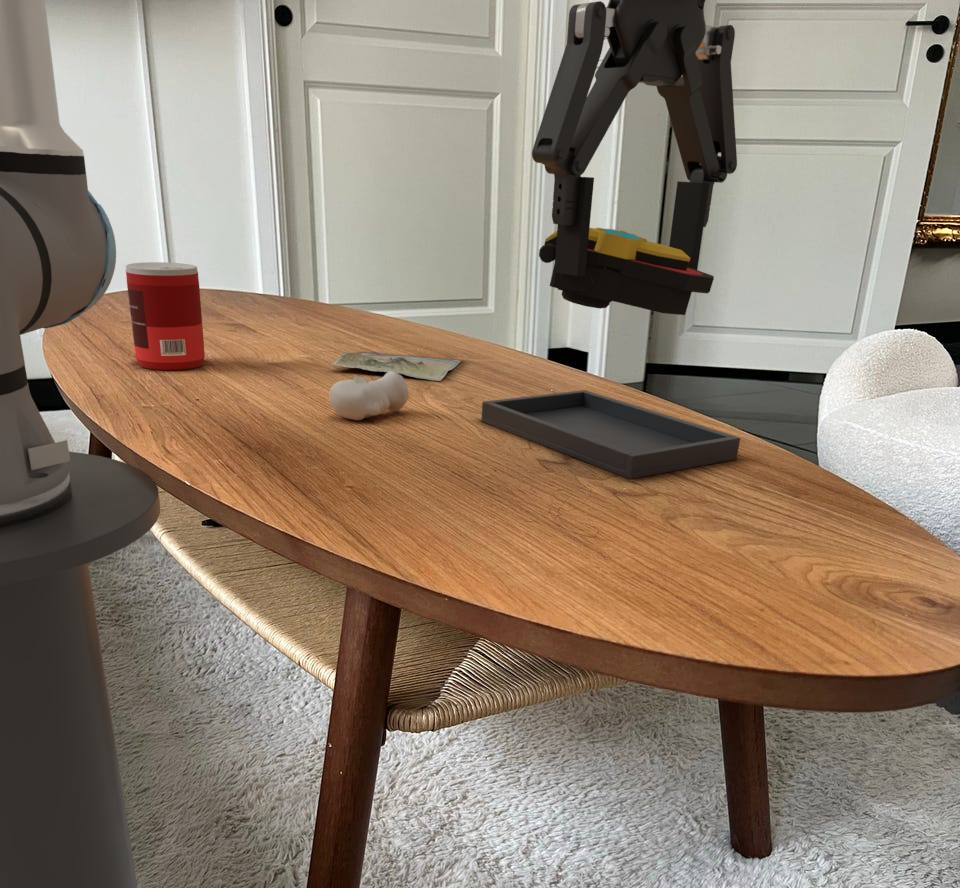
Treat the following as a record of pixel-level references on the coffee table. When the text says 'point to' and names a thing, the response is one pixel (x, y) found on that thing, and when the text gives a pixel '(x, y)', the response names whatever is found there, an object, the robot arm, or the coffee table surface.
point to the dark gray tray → (611, 433)
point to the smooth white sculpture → (368, 396)
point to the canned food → (166, 315)
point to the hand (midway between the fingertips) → (627, 273)
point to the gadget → (629, 273)
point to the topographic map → (399, 364)
